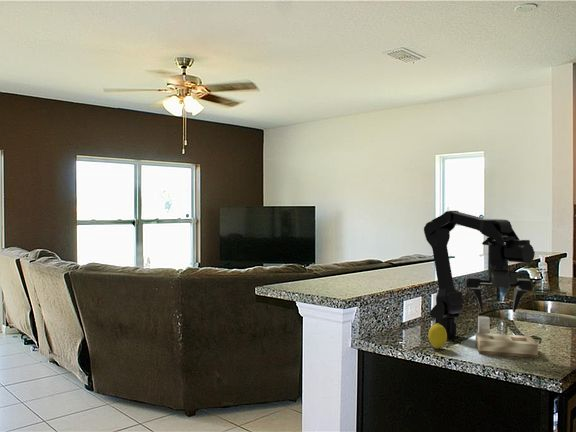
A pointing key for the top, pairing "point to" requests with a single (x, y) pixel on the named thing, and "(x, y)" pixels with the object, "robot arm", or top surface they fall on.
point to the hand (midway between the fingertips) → (497, 311)
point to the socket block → (506, 345)
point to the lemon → (437, 335)
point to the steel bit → (483, 324)
